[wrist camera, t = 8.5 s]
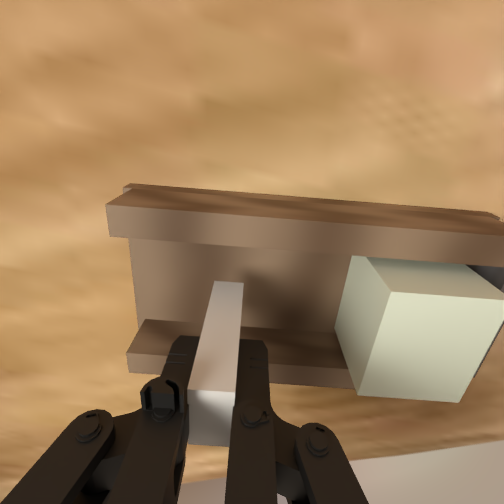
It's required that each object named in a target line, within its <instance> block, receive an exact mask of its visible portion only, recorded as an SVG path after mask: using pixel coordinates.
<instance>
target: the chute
mask: <svg viewBox="0 0 504 504" xmlns="http://www.w3.org/2000/svg"><path fill="white" fill-rule="evenodd" d="M105 206H106V213H107V220H108V227H109V235H110V237H122V238H128V239H129V248H130V257H131V266H132V275H133V284H134V293H135V302H136V311H137V320H138V328H139V331H138V333H137V334H136V336H135V338H134V340H133V342H132V343H131V345H130V347H129V349H128V351H127V352H126V355H127V362H128V369H129V373H142V374H156V375H161V373H162V370H163V367H164V365H165V363H166V359H167V357H168V355H169V351H170V348H171V346H172V343H173V342H174V341H175V340H176V339H177V338H178V337H179V336H180V335H185V336H199V337H200V336H201V332H202V329H203V325H204V321H205V317H206V313H207V309H208V305H209V301H210V297H211V293H212V289H213V285H214V281H224V282H237V283H244V286H243V299H242V312H241V325H240V338H239V339H252V340H263V342H264V344H265V345H266V347H267V349H268V366H269V368H268V370H269V383H278V384H291V385H305V386H318V387H332V388H345V389H355V387H354V384H353V381H352V378H351V375H350V372H349V369H348V366H347V364H346V361H345V358H344V355H343V352H342V349H341V346H340V343H339V340H338V337H337V334H336V331H335V329H334V327H335V323H336V319H337V315H338V311H339V307H340V302H341V298H342V294H343V290H344V286H345V282H346V278H347V274H348V270H349V265H350V261H351V257H352V256H365V257H378V258H391V259H404V260H416V261H429V262H442V263H455V264H465V265H466V266H468V267H469V268H470V269H472V270H473V271H474V272H476V273H477V274H478V275H480V276H481V277H482V278H484V279H485V280H487V281H488V282H489V283H491V284H492V285H493V286H495V287H496V288H497V289H499V290H500V291H501V292H503V293H504V223H503V222H501V221H499V219H500V218H499V217H497V216H495V215H493V214H490V213H488V212H481V211H469V210H456V209H443V208H431V207H418V206H406V205H393V204H381V203H368V202H356V201H343V200H331V199H318V198H306V197H293V196H281V195H268V194H256V193H243V192H231V191H218V190H206V189H193V188H181V187H168V186H156V185H143V184H131V183H130V184H128V185H127V186H125V187H123V194H122V195H120V196H119V197H117V198H115V199H114V200H112V201H110V202H109V203H107V204H105ZM503 324H504V321H503V322H502V324H501V326H500V328H499V330H498V332H497V333H496V335H495V337H494V339H493V341H492V343H491V345H490V346H489V348H488V350H487V352H486V354H485V356H484V357H483V359H482V361H481V363H480V365H479V367H478V368H477V370H476V372H475V374H474V376H473V377H475V375H476V374H477V372H478V370H479V368H480V366H481V365H482V363H483V361H484V359H485V357H486V355H487V354H488V352H489V350H490V348H491V346H492V344H493V343H494V341H495V339H496V337H497V335H498V333H499V332H500V330H501V328H502V326H503Z"/></svg>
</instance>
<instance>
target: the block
mask: <svg viewBox="0 0 504 504" xmlns="http://www.w3.org/2000/svg"><path fill="white" fill-rule="evenodd" d="M503 321H504V293H503V292H501V291H500V290H499V289H497V288H496V287H495V286H493V285H492V284H491V283H489V282H488V281H487V280H485V279H484V278H482V277H481V276H480V275H478V274H477V273H476V272H474V271H473V270H472V269H470V268H469V267H468V266H466V265H465V264H455V263H442V262H429V261H416V260H404V259H391V258H378V257H365V256H352V257H351V261H350V265H349V270H348V274H347V278H346V282H345V286H344V290H343V294H342V298H341V302H340V307H339V311H338V315H337V319H336V323H335V327H334V329H335V331H336V334H337V337H338V340H339V343H340V346H341V349H342V352H343V355H344V358H345V361H346V364H347V366H348V369H349V372H350V375H351V378H352V381H353V384H354V387H355V390H356V393H357V395H360V396H374V397H387V398H401V399H414V400H428V401H441V402H455V403H459V402H460V400H461V398H462V396H463V394H464V392H465V390H466V389H467V387H468V385H469V383H470V381H471V379H472V378H473V376H474V374H475V372H476V370H477V368H478V367H479V365H480V363H481V361H482V359H483V357H484V356H485V354H486V352H487V350H488V348H489V346H490V345H491V343H492V341H493V339H494V337H495V335H496V333H497V332H498V330H499V328H500V326H501V324H502V322H503Z"/></svg>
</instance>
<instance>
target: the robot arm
mask: <svg viewBox="0 0 504 504" xmlns="http://www.w3.org/2000/svg"><path fill="white" fill-rule="evenodd" d="M243 286H244V283H237V282H224V281H214V285H213V289H212V293H211V297H210V301H209V305H208V309H207V313H206V317H205V321H204V325H203V329H202V332H201V336H200V337H199V336H185V335H180V336H179V337H178V338H177V339H176V340H175V341H174V342H173V343H172V346H171V348H170V351H169V355H168V357H167V359H166V363H165V365H164V367H163V370H162V373H161V376H160V377H157V378H155V379H152V380H150V381H149V382H148V383H147V384H145V385H144V387H143V388H142V390H141V391H140V395H141V404H142V408H141V409H139V410H137V411H135V412H132V413H129V414H125V415H120V416H116V417H112V416H111V414H110V413H109V412H107V411H105V410H99V409H96V410H91V411H87V412H85V413H83V414H81V415H79V416H78V417H77V418H76V419H74V420H73V421H72V422H71V423H70V424H69V425H68V426H67V428H66V429H65V430H64V431H63V432H62V433H61V434H60V436H59V437H58V438H57V439H56V440H55V441H54V442H53V444H52V445H51V446H50V447H49V448H48V449H47V450H46V452H45V453H44V454H43V455H42V456H41V457H40V459H39V460H38V461H37V462H36V463H35V464H34V465H33V467H32V468H31V469H30V470H29V471H28V472H27V473H26V475H25V476H24V477H23V478H22V479H21V480H20V481H19V483H18V484H17V485H16V486H15V487H14V488H13V490H12V491H11V492H10V493H9V494H8V495H7V496H6V498H5V499H4V500H3V501H2V502H1V503H0V504H177V501H178V496H179V491H180V486H181V482H182V477H183V472H184V467H185V451H186V446H187V442H188V444H193V445H209V446H225V447H229V457H228V469H227V481H226V493H225V504H277V493H278V494H280V495H282V496H285V497H286V499H287V502H288V504H369V503H368V501H367V499H366V497H365V495H364V493H363V491H362V489H361V486H360V484H359V482H358V480H357V478H356V476H355V474H354V472H353V470H352V468H351V466H350V464H349V461H348V459H347V457H346V455H345V453H344V451H343V449H342V447H341V445H340V443H339V441H338V439H337V437H336V436H335V435H334V433H333V432H332V431H331V430H330V429H329V428H327V427H326V426H324V425H321V424H319V423H307V424H305V425H303V426H302V427H301V428H299V427H297V426H294V425H292V424H289V423H287V422H285V421H283V420H282V419H280V418H279V417H278V416H277V415H276V414H275V412H274V411H273V409H272V407H271V403H270V388H269V370H268V368H269V366H268V349H267V347H266V345H265V344H264V342H263V340H252V339H239V338H240V325H241V312H242V299H243Z"/></svg>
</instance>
